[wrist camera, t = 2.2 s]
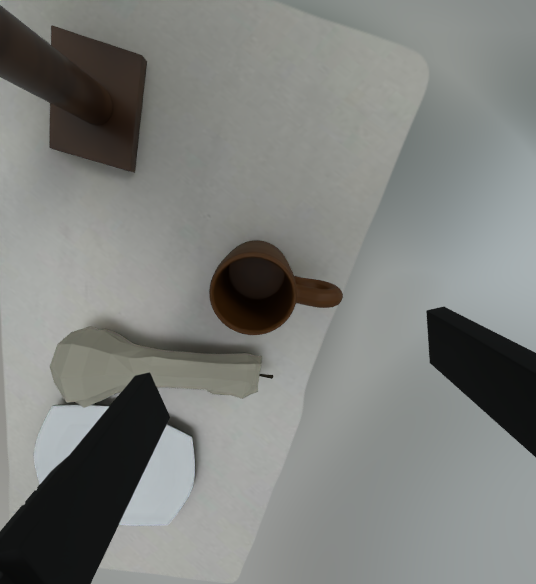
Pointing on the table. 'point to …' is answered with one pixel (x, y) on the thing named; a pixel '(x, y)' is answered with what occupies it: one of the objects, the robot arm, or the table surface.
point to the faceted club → (144, 368)
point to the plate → (155, 480)
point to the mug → (263, 289)
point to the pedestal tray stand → (79, 89)
